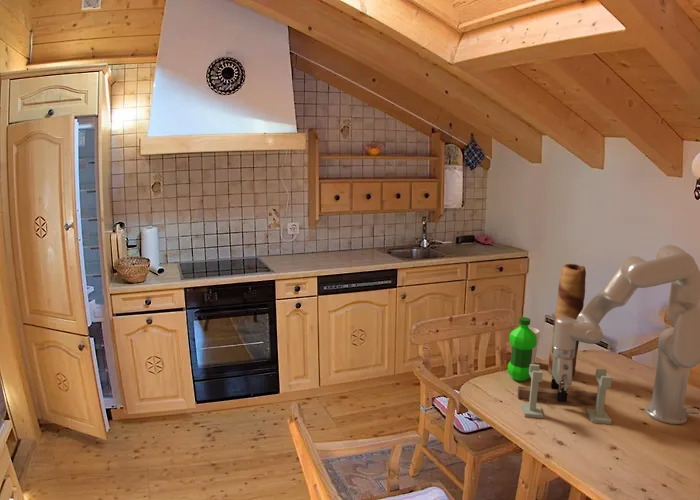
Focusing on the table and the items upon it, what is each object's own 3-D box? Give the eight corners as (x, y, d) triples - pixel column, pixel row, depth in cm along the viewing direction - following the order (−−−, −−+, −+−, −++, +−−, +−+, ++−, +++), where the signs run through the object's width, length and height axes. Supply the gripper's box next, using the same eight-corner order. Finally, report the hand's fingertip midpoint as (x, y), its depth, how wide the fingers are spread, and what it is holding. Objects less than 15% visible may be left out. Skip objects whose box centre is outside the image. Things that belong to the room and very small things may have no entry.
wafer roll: (577, 371, 213) (590, 265, 204) (573, 381, 205) (585, 271, 195) (551, 365, 219) (562, 261, 209) (545, 374, 210) (556, 267, 200)
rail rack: (604, 413, 181) (609, 369, 178) (610, 424, 175) (617, 378, 171) (521, 406, 185) (525, 363, 182) (524, 416, 179) (528, 372, 175)
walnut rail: (597, 402, 189) (598, 392, 188) (599, 407, 186) (600, 396, 185) (517, 395, 193) (518, 386, 192) (518, 399, 190) (519, 389, 190)
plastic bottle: (537, 384, 202) (543, 323, 196) (510, 384, 202) (515, 323, 196) (528, 372, 212) (533, 314, 206) (502, 372, 211) (507, 314, 206)
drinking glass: (537, 367, 216) (541, 333, 213) (520, 365, 218) (523, 332, 214) (535, 360, 223) (538, 327, 219) (518, 359, 224) (521, 326, 221)
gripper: (581, 362, 176) (575, 408, 180) (568, 342, 193) (563, 384, 197) (558, 360, 177) (553, 406, 181) (547, 341, 194) (542, 383, 198)
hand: (558, 395), depth 189 cm, fingers open, 9 cm apart
